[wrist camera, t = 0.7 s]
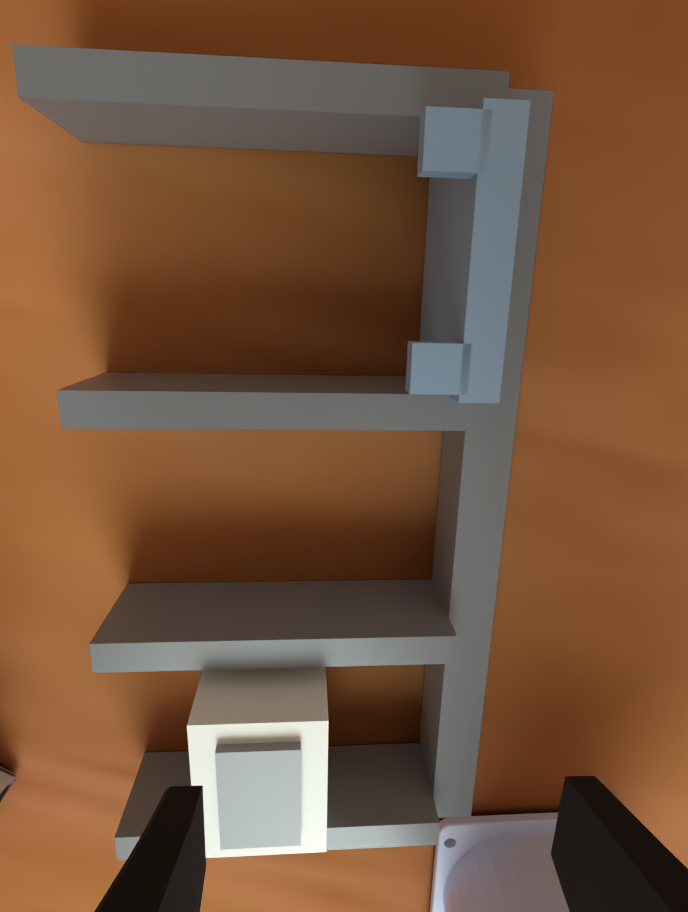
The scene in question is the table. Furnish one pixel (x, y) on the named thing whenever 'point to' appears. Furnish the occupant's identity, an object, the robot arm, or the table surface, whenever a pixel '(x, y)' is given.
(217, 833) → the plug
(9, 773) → the candy bar box
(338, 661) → the e-shaped shelf rack
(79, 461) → the table surface
